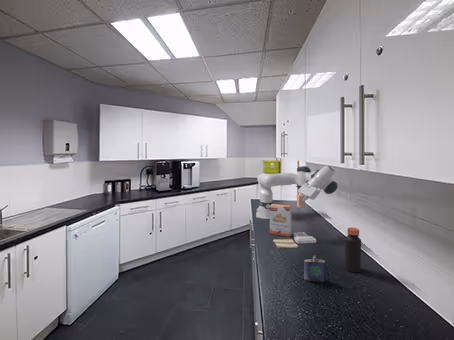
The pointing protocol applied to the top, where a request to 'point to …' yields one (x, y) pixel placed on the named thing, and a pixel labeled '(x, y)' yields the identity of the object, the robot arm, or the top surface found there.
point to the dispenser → (303, 238)
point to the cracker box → (280, 220)
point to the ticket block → (299, 203)
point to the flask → (314, 269)
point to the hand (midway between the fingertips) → (299, 200)
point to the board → (285, 243)
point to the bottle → (353, 250)
